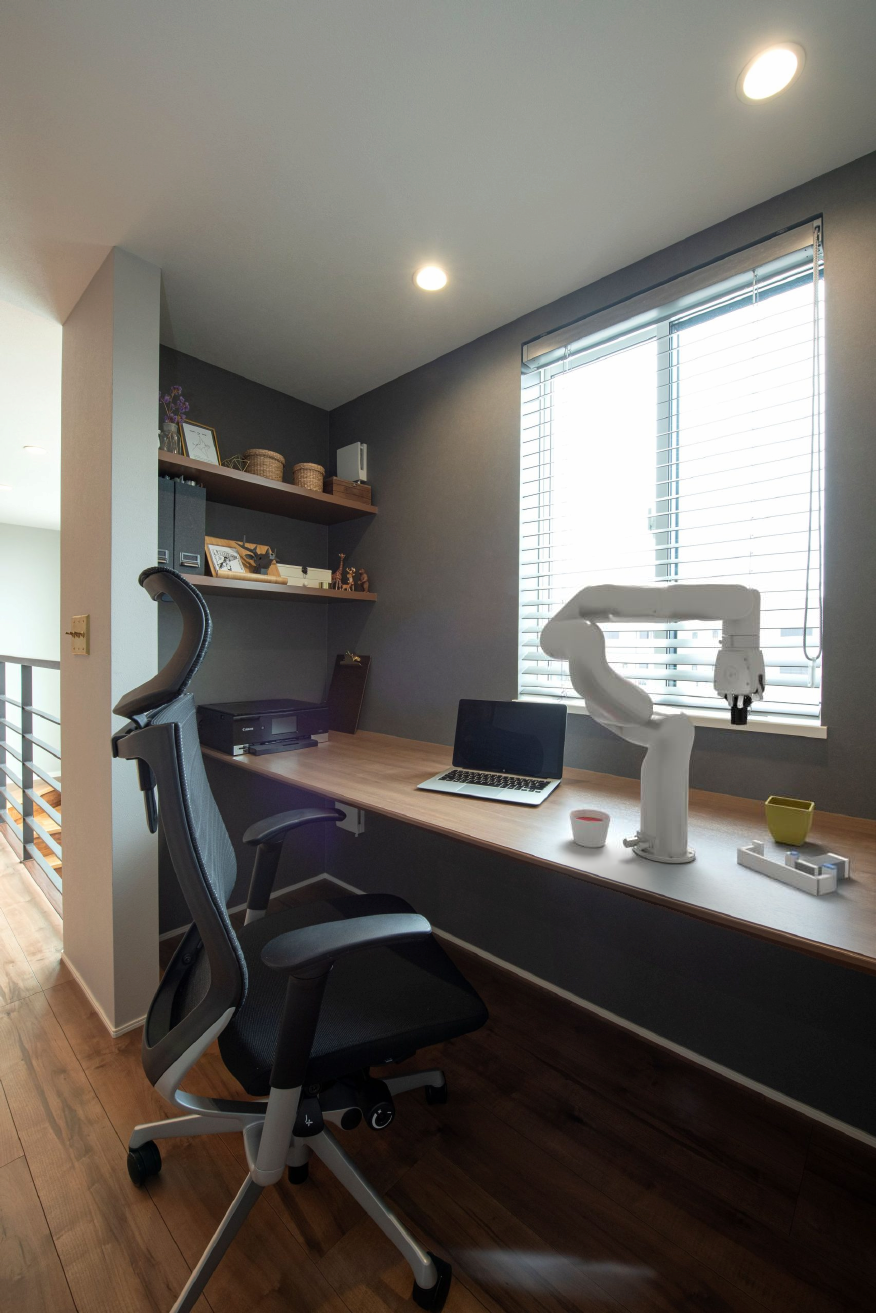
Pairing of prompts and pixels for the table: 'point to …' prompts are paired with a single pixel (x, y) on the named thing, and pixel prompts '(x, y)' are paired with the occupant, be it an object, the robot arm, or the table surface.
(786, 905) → the table surface
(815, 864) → the white-capped gray brick
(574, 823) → the candle
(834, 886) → the white arch handle
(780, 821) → the flower pot
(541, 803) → the table surface
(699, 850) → the table surface
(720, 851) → the table surface
